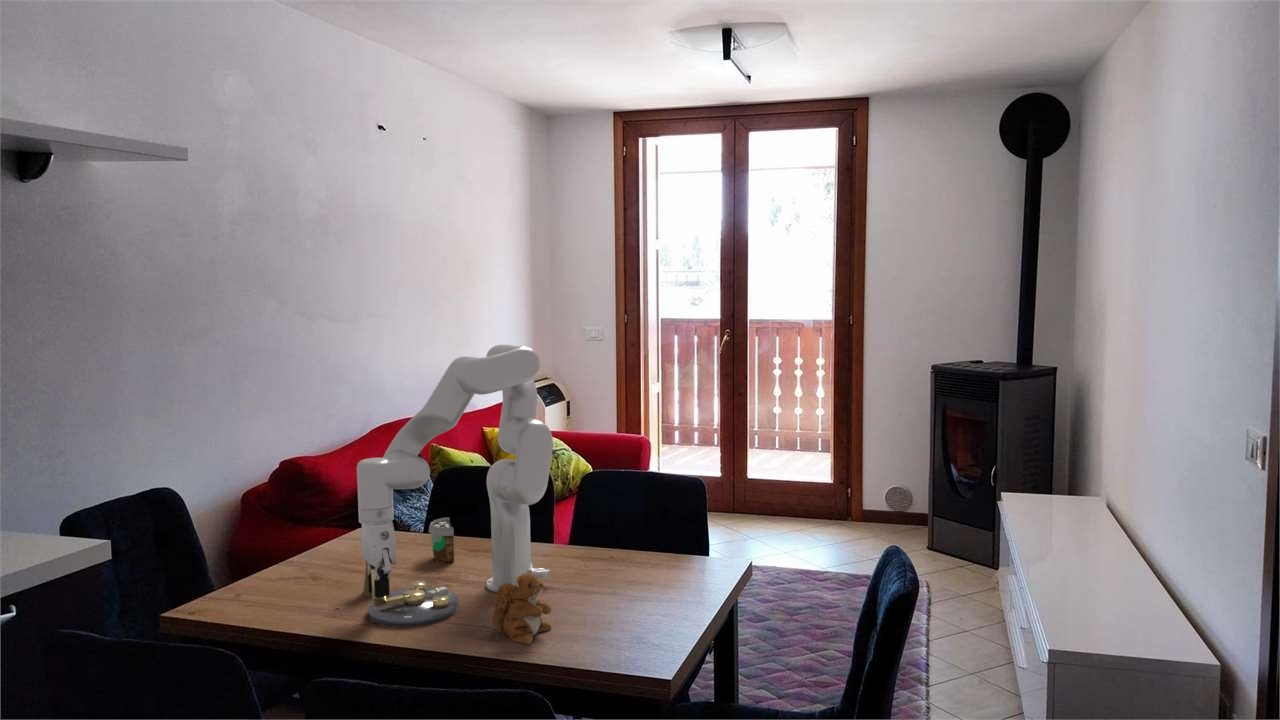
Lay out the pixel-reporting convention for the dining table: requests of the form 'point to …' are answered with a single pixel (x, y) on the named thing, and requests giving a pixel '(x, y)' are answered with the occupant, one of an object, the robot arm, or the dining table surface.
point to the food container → (442, 540)
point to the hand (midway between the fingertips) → (379, 593)
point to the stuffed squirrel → (520, 609)
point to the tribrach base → (417, 607)
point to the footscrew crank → (406, 598)
